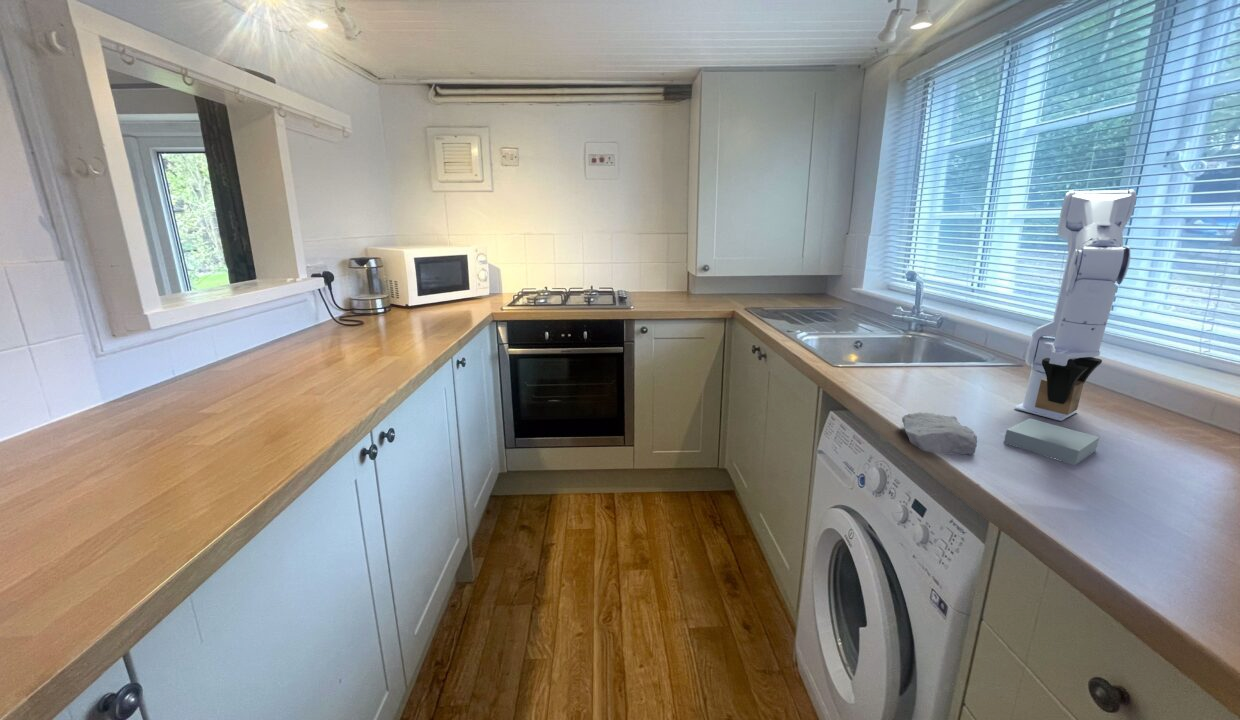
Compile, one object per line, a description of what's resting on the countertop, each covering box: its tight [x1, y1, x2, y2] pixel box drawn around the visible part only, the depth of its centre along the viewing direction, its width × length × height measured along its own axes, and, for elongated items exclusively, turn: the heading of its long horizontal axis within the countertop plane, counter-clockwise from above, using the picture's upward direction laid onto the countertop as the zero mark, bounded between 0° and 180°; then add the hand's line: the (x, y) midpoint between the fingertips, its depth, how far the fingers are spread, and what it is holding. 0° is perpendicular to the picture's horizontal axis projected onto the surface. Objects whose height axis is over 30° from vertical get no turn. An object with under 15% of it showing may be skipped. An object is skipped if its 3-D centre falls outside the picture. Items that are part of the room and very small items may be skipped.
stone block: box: [901, 411, 978, 456], centre depth 90 cm, size 12×5×10 cm
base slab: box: [1003, 417, 1100, 466], centre depth 88 cm, size 10×10×3 cm
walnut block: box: [1035, 378, 1085, 415], centre depth 86 cm, size 4×4×5 cm
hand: (1061, 399), depth 85 cm, fingers closed on walnut block, 4 cm apart
